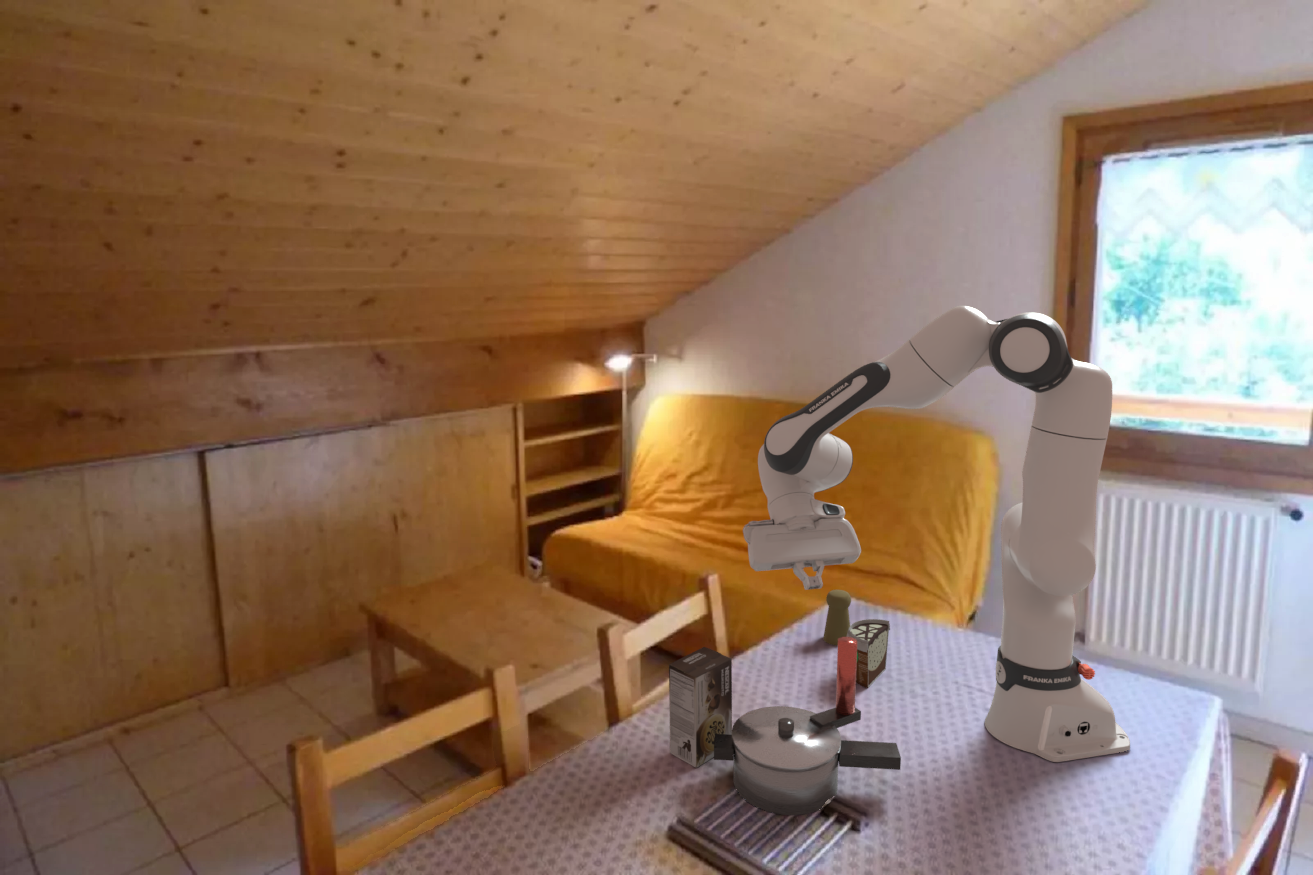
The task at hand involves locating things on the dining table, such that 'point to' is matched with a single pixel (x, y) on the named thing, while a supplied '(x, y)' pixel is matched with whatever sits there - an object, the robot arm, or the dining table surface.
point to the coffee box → (699, 704)
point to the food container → (870, 649)
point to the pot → (801, 775)
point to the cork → (837, 616)
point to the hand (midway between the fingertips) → (814, 587)
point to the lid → (801, 725)
